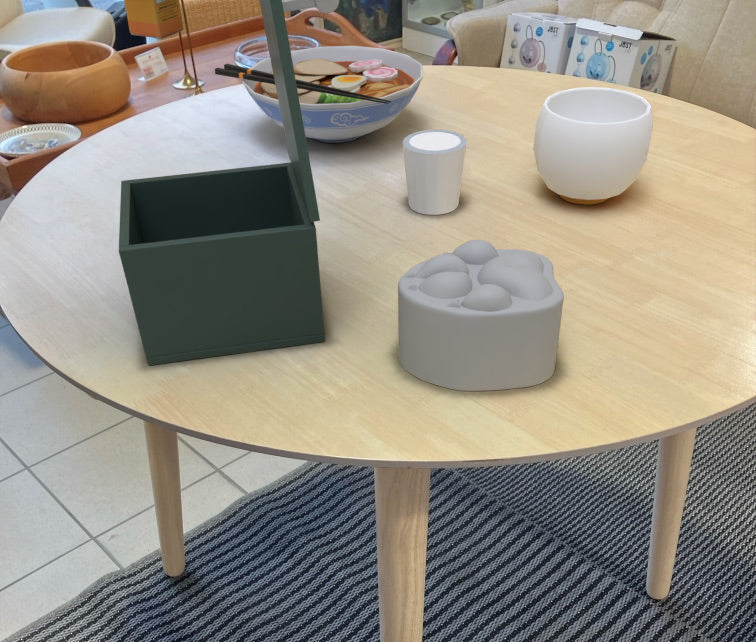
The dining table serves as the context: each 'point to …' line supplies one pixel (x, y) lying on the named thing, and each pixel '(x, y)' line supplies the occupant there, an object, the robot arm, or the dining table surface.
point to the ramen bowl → (338, 89)
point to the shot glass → (434, 170)
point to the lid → (291, 90)
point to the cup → (592, 142)
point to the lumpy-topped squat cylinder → (480, 318)
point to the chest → (220, 262)
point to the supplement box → (154, 17)
